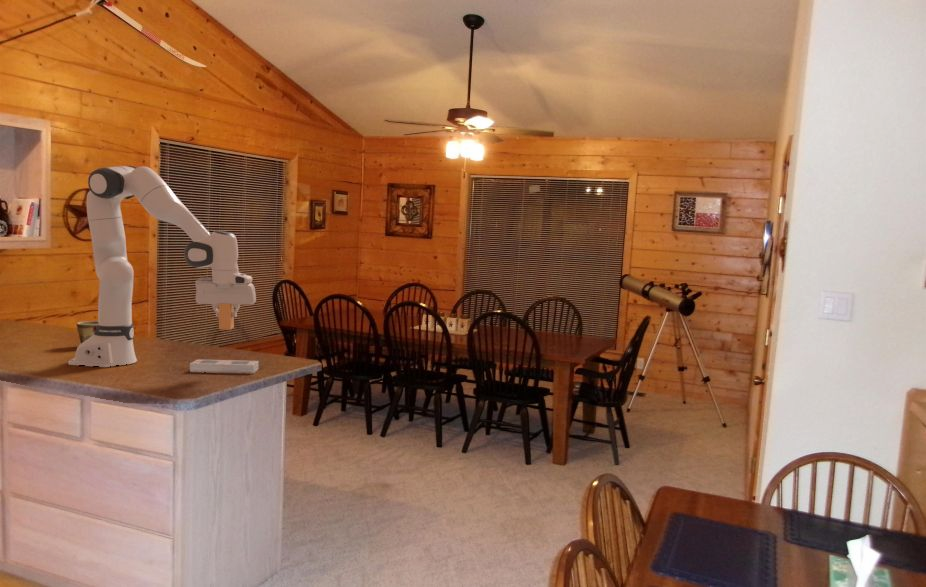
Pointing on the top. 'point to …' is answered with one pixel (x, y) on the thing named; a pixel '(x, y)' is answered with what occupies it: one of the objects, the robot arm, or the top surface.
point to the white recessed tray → (224, 366)
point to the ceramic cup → (86, 329)
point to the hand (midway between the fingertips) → (226, 316)
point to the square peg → (226, 316)
